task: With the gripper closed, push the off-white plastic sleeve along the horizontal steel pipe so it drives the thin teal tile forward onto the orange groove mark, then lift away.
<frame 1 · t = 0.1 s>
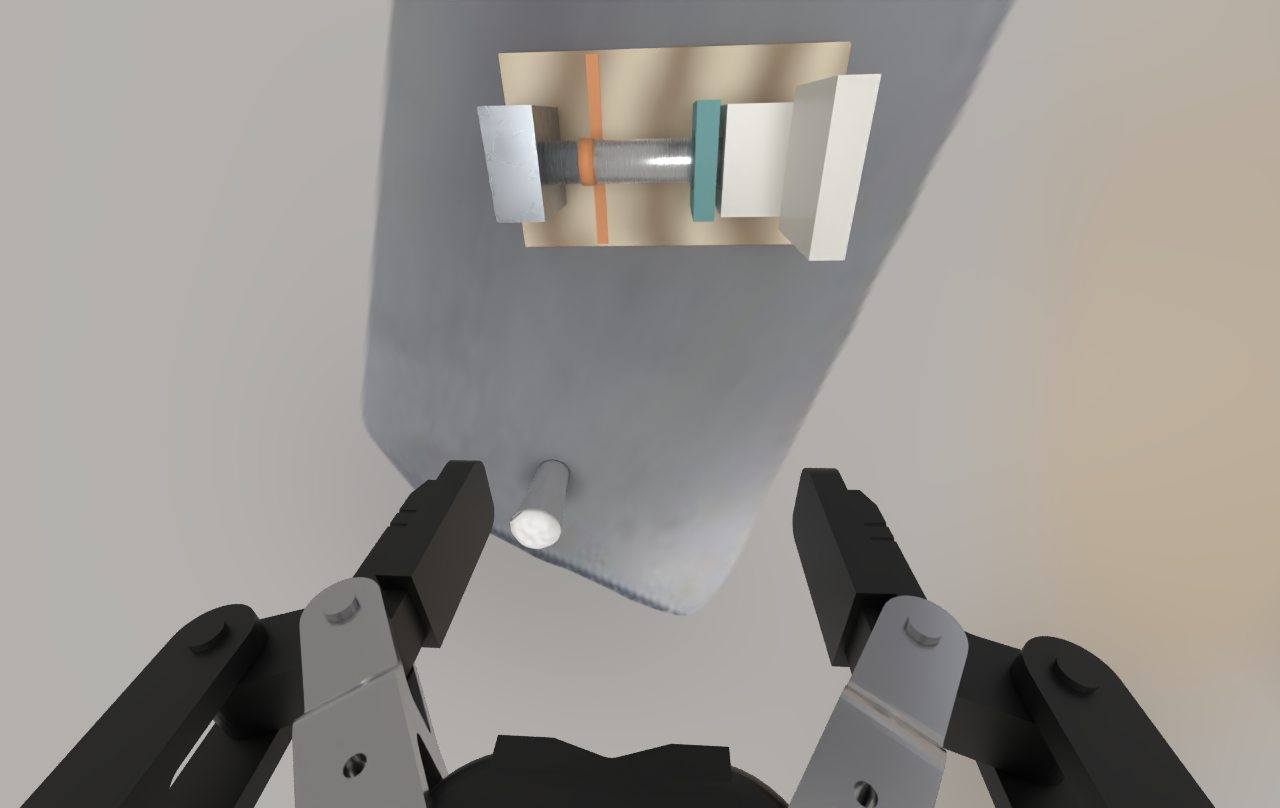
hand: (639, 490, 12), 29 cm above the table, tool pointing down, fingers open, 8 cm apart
thin teal tile: (703, 160, 29), point 6 cm above the table, slide at -2.0 cm
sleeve: (772, 164, 25), point 10 cm above the table, slide at -5.5 cm
milkshake: (552, 468, 50), on the table
pipe stand: (670, 154, 34), on the table
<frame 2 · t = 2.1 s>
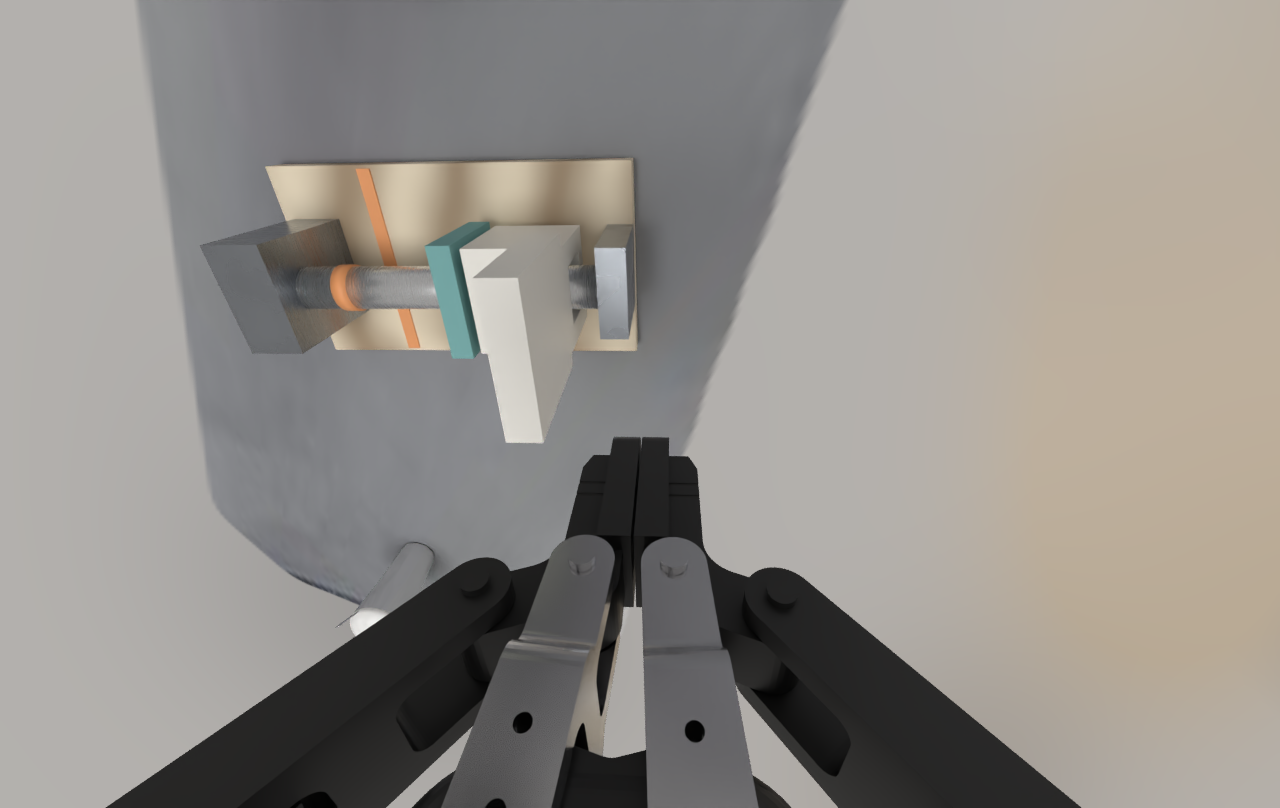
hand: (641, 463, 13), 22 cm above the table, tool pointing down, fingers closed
thin teal tile: (471, 287, 27), point 6 cm above the table, slide at -2.0 cm
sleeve: (514, 309, 24), point 10 cm above the table, slide at -5.5 cm
milkshake: (416, 549, 48), on the table
pipe stand: (474, 260, 32), on the table
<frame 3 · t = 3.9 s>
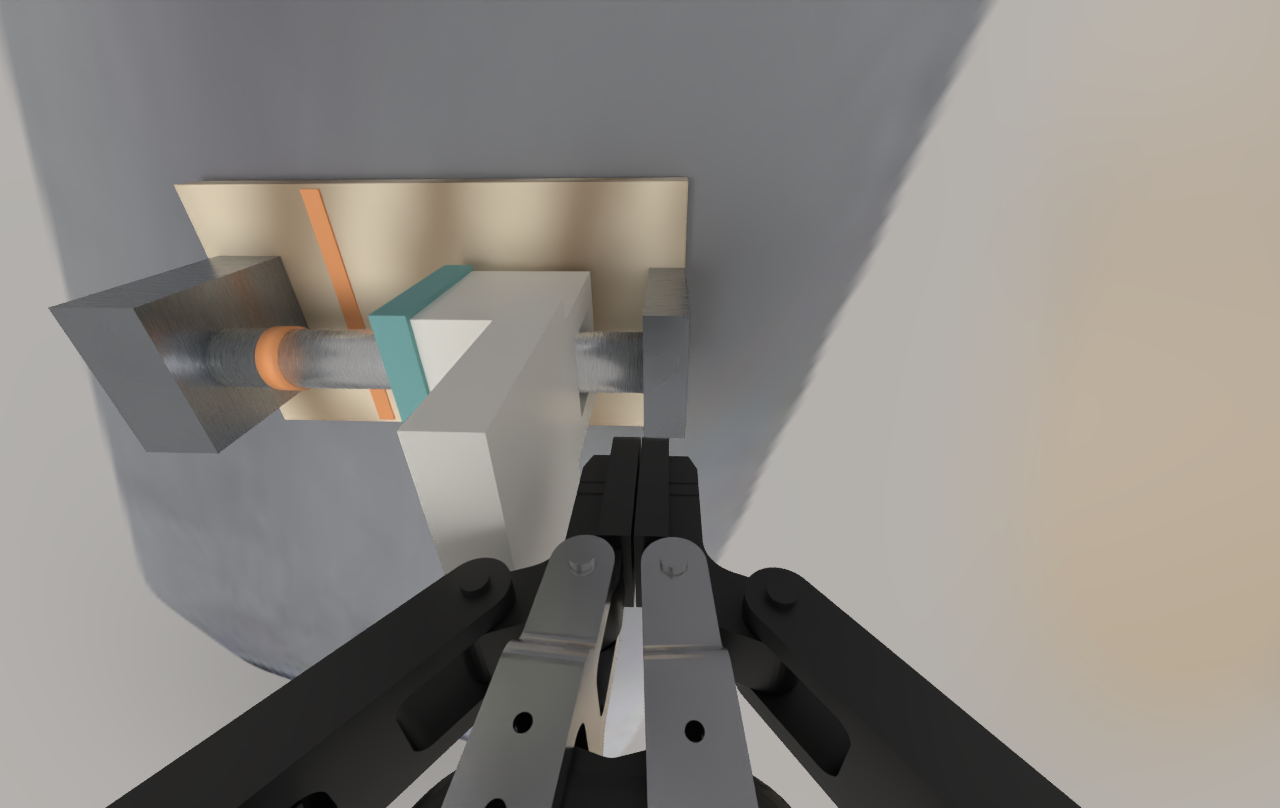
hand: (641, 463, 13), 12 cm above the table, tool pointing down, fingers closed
thin teal tile: (445, 360, 19), point 6 cm above the table, slide at -1.4 cm, touching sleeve
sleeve: (493, 408, 16), point 10 cm above the table, slide at -4.5 cm, touching gripper, thin teal tile
pipe stand: (465, 308, 24), on the table
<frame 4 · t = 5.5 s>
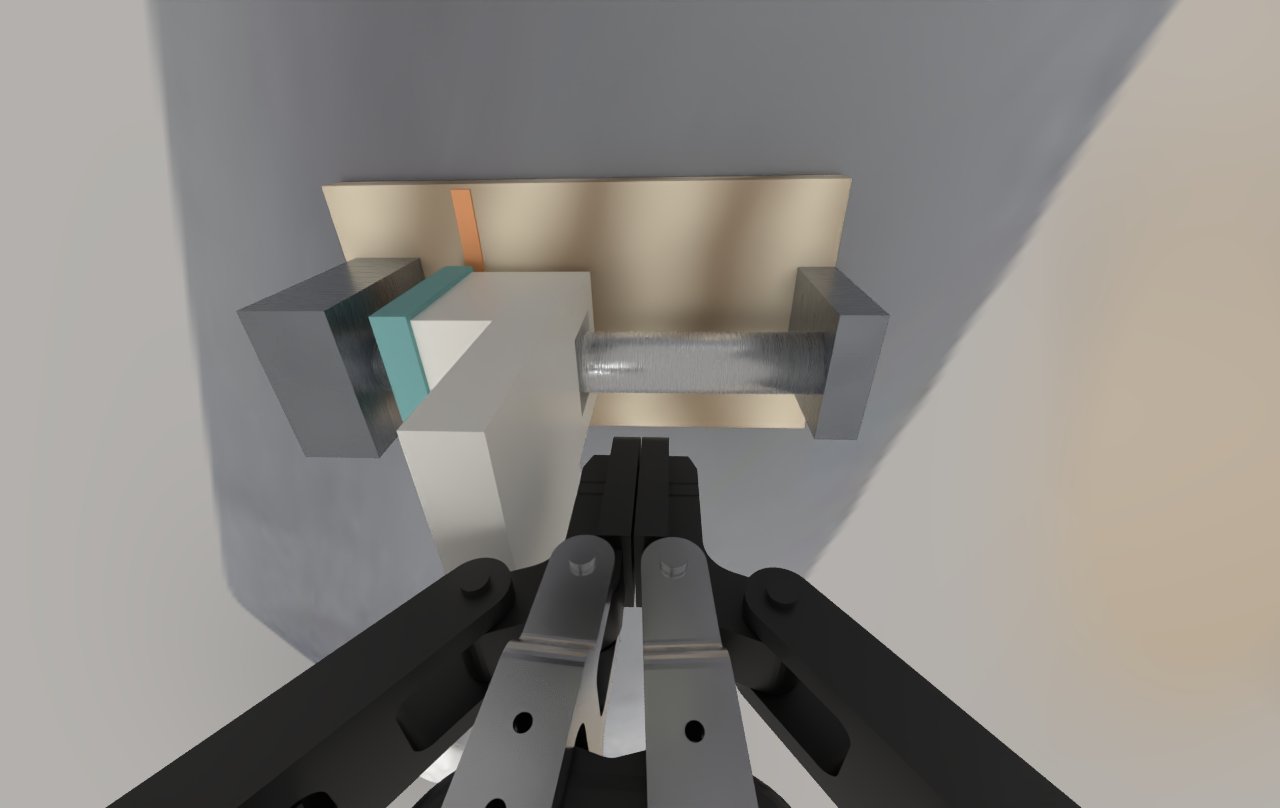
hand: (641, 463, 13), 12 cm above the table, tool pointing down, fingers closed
thin teal tile: (446, 361, 19), point 6 cm above the table, slide at 5.1 cm, touching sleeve
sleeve: (494, 409, 16), point 10 cm above the table, slide at 2.0 cm, touching gripper, thin teal tile
milkshake: (475, 641, 40), on the table
pipe stand: (593, 309, 24), on the table
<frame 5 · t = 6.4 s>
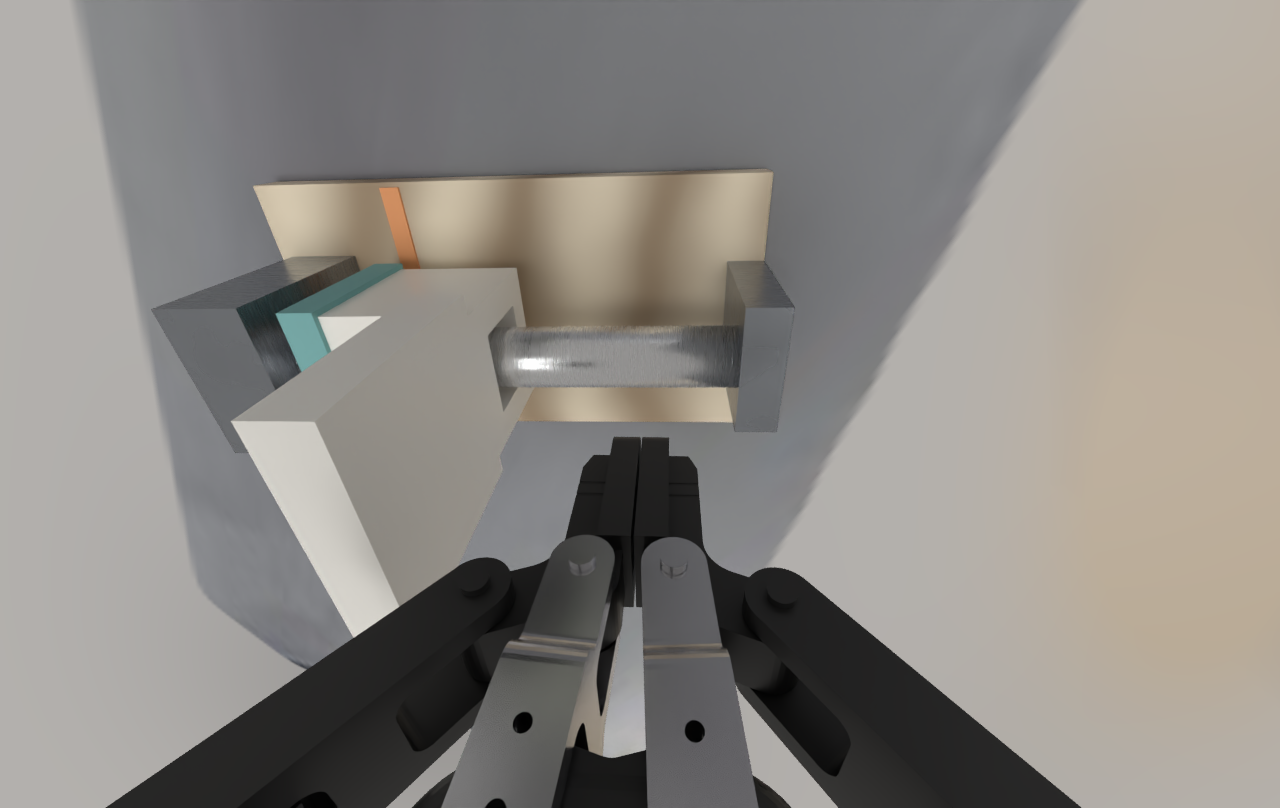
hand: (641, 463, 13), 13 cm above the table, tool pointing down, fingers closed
thin teal tile: (373, 357, 19), point 6 cm above the table, slide at 5.1 cm, touching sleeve
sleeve: (404, 403, 16), point 10 cm above the table, slide at 2.0 cm, touching thin teal tile
pipe stand: (534, 306, 24), on the table
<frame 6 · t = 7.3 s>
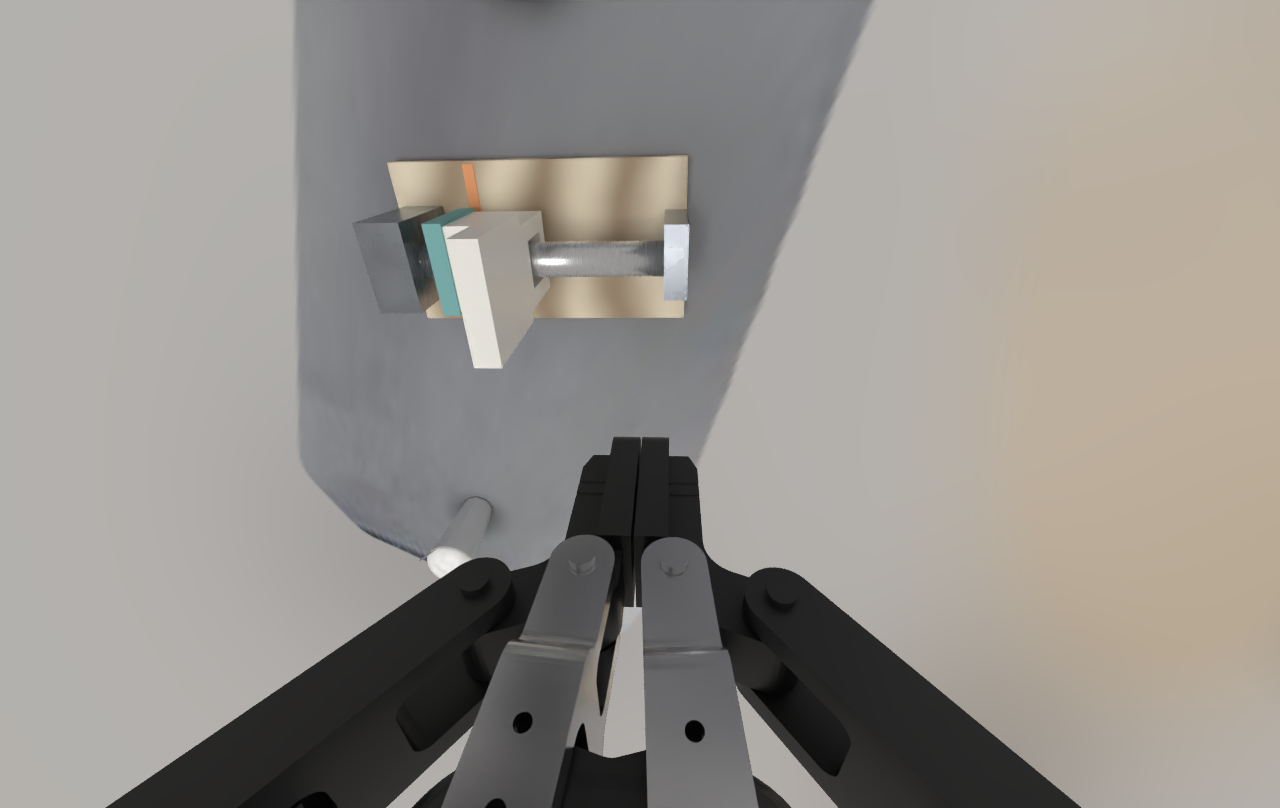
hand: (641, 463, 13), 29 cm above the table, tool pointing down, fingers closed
thin teal tile: (459, 260, 34), point 6 cm above the table, slide at 5.1 cm, touching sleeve
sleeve: (484, 274, 30), point 10 cm above the table, slide at 2.0 cm, touching thin teal tile
milkshake: (476, 503, 54), on the table
pipe stand: (549, 241, 39), on the table
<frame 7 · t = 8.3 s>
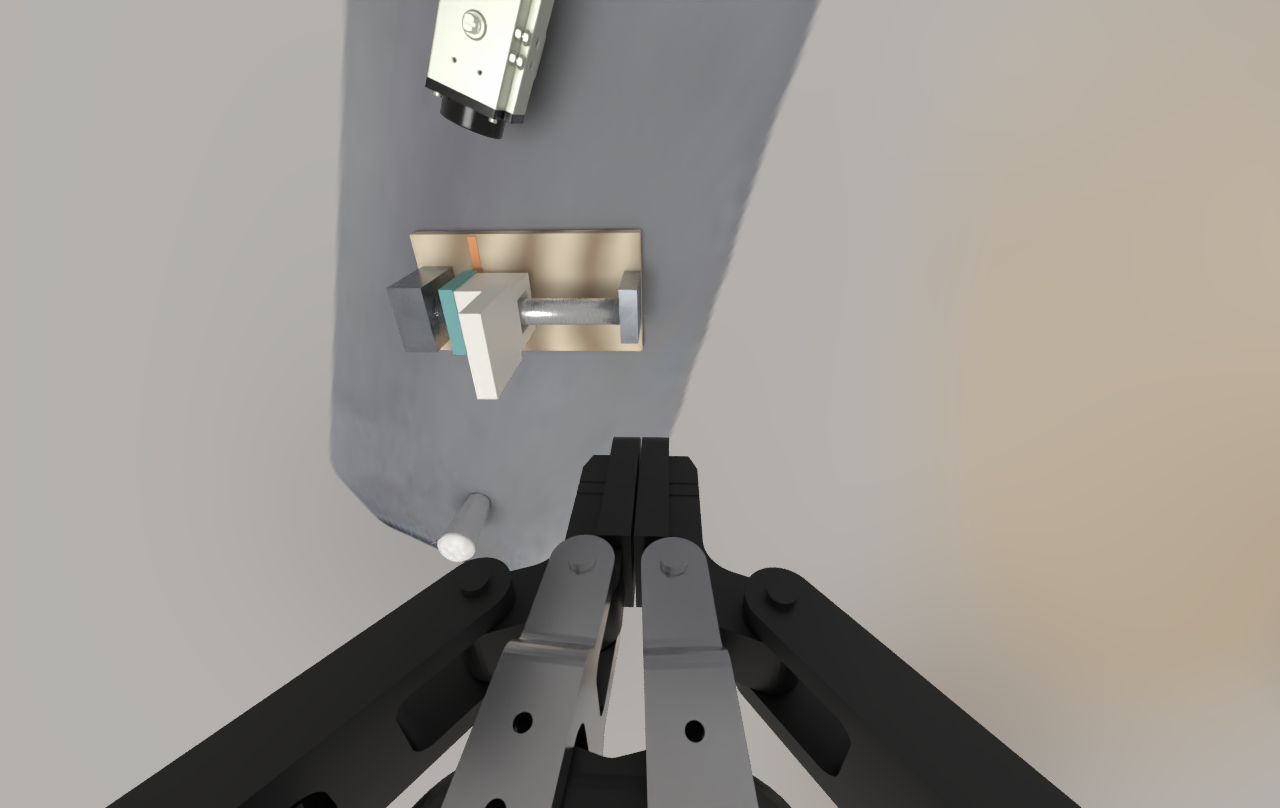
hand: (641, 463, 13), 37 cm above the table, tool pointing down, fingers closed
thin teal tile: (465, 311, 44), point 6 cm above the table, slide at 5.1 cm, touching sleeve
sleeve: (485, 326, 41), point 10 cm above the table, slide at 2.0 cm, touching thin teal tile
pneumatic valve: (527, 50, 39), on the table
milkshake: (477, 498, 65), on the table
pipe stand: (535, 291, 49), on the table
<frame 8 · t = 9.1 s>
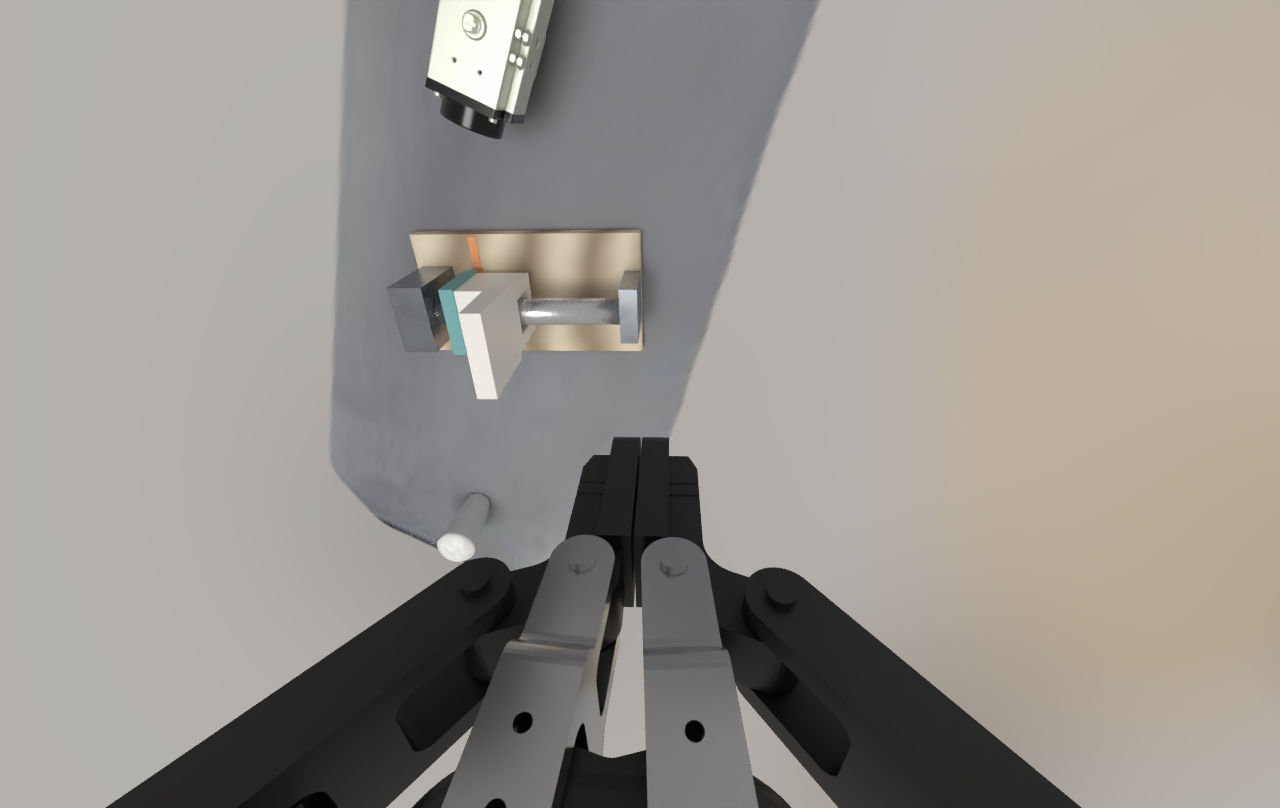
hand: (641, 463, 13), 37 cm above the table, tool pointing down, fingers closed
thin teal tile: (465, 311, 44), point 6 cm above the table, slide at 5.1 cm, touching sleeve
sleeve: (485, 326, 41), point 10 cm above the table, slide at 2.0 cm, touching thin teal tile
pneumatic valve: (527, 50, 39), on the table
milkshake: (477, 498, 65), on the table
pipe stand: (535, 291, 49), on the table
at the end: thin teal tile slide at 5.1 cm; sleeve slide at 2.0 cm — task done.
